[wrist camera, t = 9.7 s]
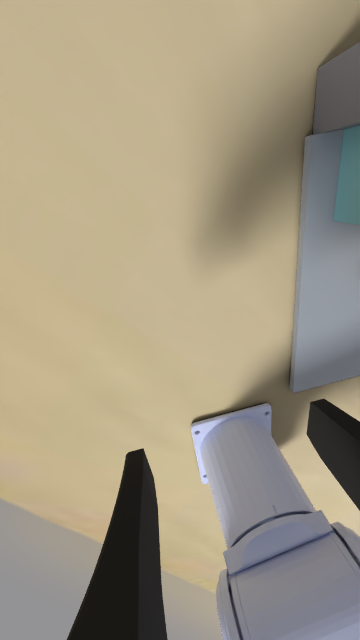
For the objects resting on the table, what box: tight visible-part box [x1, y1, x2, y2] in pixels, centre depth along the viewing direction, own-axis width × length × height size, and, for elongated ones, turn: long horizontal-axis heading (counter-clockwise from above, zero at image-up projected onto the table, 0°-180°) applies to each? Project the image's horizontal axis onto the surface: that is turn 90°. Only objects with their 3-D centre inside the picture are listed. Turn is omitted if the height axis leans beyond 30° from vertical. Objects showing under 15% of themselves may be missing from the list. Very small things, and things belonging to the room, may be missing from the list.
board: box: [290, 129, 360, 393], centre depth 20 cm, size 20×10×1 cm, turn 9°
